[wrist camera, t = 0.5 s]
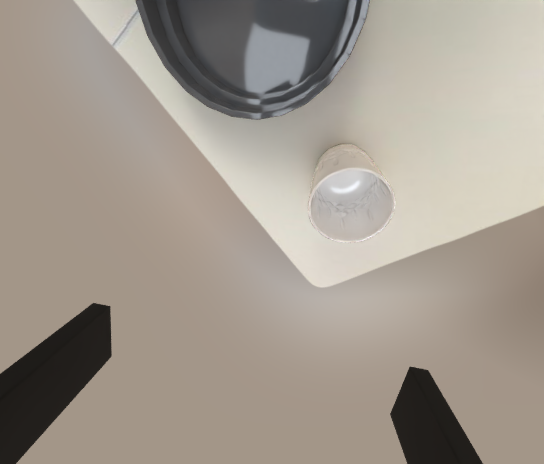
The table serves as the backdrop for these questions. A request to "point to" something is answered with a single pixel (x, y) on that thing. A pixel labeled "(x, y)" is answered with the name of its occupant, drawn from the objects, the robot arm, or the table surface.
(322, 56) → the bowl
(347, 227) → the white cup
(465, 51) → the table surface
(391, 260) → the table surface
